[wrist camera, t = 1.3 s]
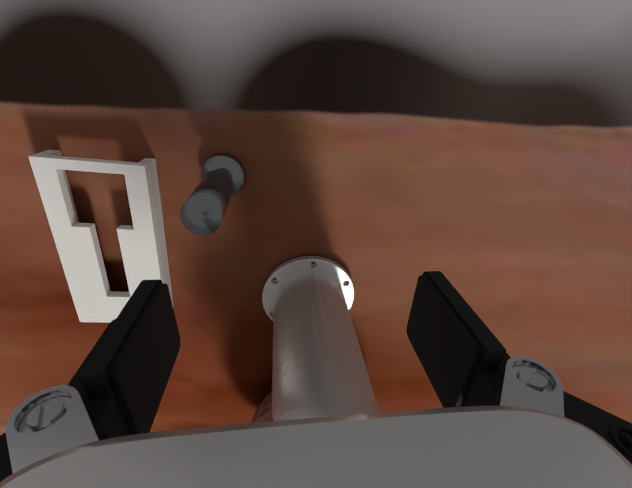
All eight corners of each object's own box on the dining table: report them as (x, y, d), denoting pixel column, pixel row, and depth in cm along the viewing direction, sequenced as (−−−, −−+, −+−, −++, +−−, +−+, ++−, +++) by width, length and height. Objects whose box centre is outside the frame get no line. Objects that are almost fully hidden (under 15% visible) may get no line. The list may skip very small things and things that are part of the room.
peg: (244, 194, 35) (230, 244, 25) (204, 191, 35) (173, 241, 24) (245, 155, 33) (230, 191, 23) (202, 151, 33) (167, 187, 22)
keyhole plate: (173, 307, 42) (166, 323, 39) (92, 306, 40) (79, 322, 38) (155, 158, 33) (144, 166, 30) (49, 149, 31) (28, 156, 28)
